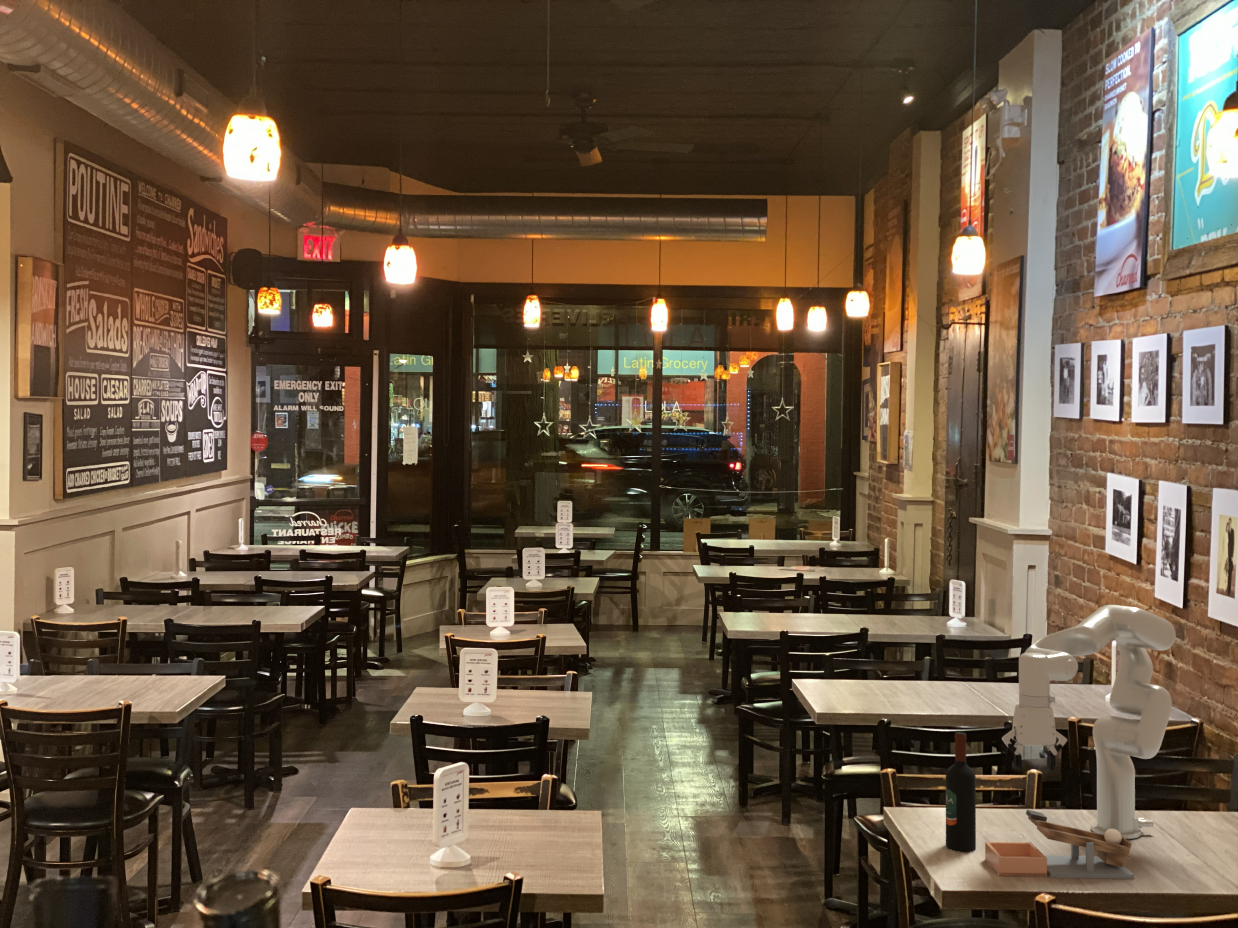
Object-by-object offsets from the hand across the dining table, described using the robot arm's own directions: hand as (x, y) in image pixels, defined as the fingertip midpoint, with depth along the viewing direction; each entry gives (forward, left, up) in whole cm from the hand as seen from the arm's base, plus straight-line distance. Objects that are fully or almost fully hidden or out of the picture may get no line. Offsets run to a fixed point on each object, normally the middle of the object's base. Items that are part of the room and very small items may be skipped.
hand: (1034, 768), depth 290 cm
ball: (-16, +11, -14) cm, 24 cm away
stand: (-8, +11, -22) cm, 26 cm away
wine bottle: (+18, -4, -22) cm, 29 cm away
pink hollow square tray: (+9, +11, -22) cm, 26 cm away
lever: (-7, +7, -18) cm, 21 cm away
